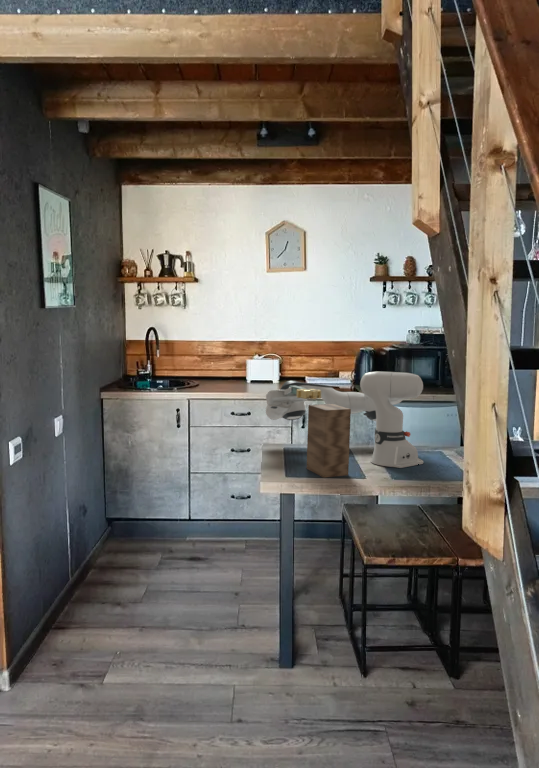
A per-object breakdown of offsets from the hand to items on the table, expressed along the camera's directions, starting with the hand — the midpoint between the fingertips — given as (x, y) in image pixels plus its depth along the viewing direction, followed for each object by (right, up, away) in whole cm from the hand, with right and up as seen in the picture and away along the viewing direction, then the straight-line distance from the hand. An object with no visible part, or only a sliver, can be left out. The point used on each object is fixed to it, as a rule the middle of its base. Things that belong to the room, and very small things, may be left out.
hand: (296, 388), depth 247 cm
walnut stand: (+11, -33, -23) cm, 41 cm away
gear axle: (+3, -3, -6) cm, 7 cm away
